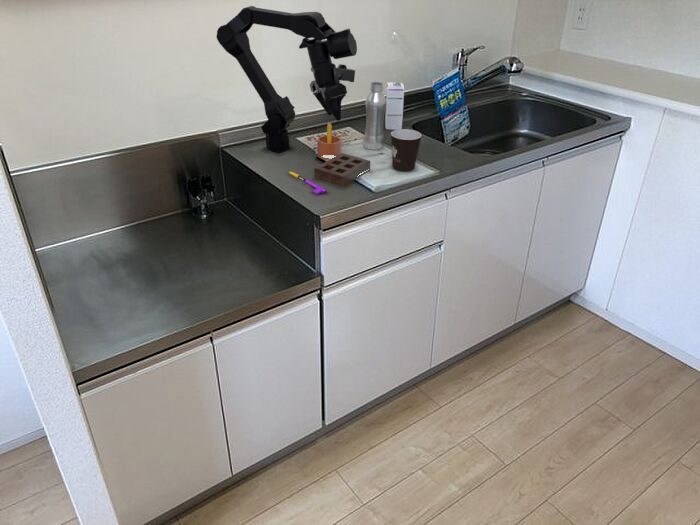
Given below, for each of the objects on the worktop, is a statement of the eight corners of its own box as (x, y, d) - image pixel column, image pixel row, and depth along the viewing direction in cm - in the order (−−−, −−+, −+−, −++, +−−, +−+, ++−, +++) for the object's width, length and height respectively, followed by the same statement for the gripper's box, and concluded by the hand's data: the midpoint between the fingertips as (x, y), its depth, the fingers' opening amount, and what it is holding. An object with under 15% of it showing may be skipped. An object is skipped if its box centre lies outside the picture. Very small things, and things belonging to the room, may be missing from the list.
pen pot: (312, 157, 168) (312, 140, 165) (326, 150, 173) (326, 133, 170) (332, 163, 165) (332, 145, 162) (345, 156, 170) (345, 138, 167)
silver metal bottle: (359, 150, 174) (362, 85, 163) (367, 143, 179) (370, 79, 169) (379, 153, 172) (383, 88, 161) (386, 146, 177) (390, 82, 167)
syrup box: (402, 130, 190) (405, 87, 183) (384, 129, 190) (387, 86, 183) (401, 124, 195) (404, 82, 187) (384, 123, 195) (386, 81, 187)
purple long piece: (327, 192, 148) (291, 172, 158) (326, 188, 147) (290, 169, 157) (319, 196, 147) (284, 177, 157) (318, 193, 146) (283, 173, 156)
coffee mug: (419, 173, 160) (422, 140, 155) (389, 172, 160) (391, 139, 155) (416, 158, 170) (419, 126, 165) (387, 157, 170) (390, 125, 165)
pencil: (326, 155, 169) (326, 122, 163) (328, 154, 170) (328, 121, 164) (329, 156, 168) (330, 123, 162) (332, 155, 169) (332, 122, 163)
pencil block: (314, 179, 155) (314, 167, 153) (342, 164, 165) (342, 152, 163) (343, 188, 151) (343, 176, 149) (369, 172, 160) (370, 160, 158)
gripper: (358, 56, 147) (370, 114, 154) (339, 52, 163) (351, 105, 170) (318, 67, 145) (332, 126, 152) (303, 62, 162) (317, 115, 169)
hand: (334, 117), depth 161 cm, fingers open, 9 cm apart
